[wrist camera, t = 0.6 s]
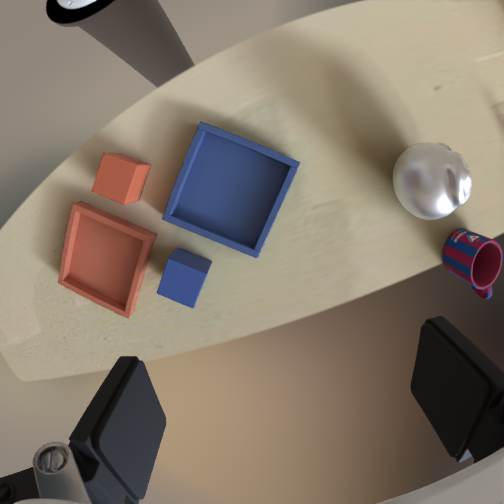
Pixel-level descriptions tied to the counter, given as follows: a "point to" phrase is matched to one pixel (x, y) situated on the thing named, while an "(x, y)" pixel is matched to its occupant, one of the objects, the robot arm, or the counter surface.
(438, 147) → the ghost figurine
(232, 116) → the counter surface
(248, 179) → the blue tray
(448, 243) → the mug
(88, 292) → the terracotta tray
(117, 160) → the terracotta block
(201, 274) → the blue block
